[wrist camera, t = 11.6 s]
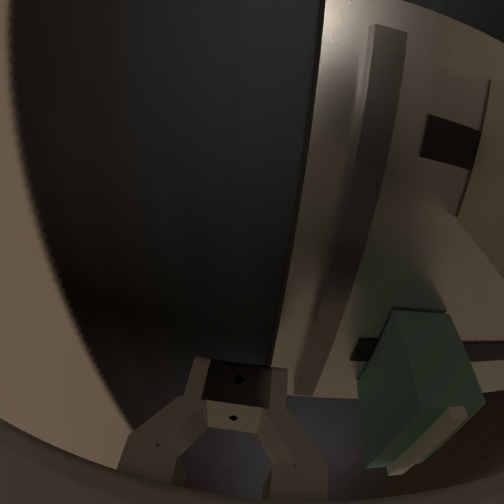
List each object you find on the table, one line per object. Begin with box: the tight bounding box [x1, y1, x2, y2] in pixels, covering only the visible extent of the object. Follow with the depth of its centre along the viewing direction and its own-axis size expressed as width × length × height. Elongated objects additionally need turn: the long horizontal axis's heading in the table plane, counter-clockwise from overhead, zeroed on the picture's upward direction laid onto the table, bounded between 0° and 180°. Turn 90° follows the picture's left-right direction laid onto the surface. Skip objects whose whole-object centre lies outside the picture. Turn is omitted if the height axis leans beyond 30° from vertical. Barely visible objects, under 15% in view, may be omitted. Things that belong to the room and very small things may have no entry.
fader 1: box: [357, 310, 486, 476], centre depth 10 cm, size 2×4×4 cm, turn 175°
